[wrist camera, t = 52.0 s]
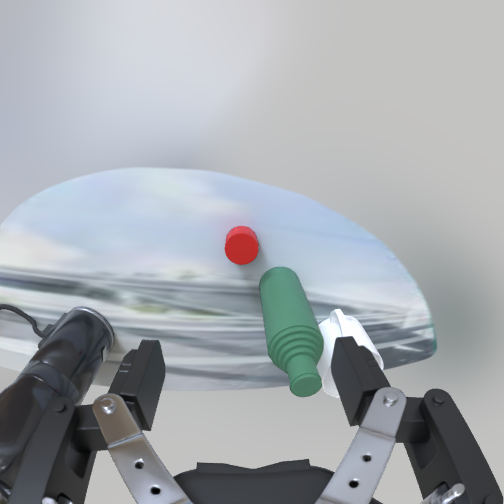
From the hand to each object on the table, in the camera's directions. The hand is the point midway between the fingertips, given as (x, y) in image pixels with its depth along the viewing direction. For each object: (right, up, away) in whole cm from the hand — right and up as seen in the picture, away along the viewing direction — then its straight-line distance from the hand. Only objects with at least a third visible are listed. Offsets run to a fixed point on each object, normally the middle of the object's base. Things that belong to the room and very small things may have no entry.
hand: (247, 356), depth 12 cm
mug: (+13, -8, +31) cm, 35 cm away
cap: (-1, +6, +26) cm, 26 cm away
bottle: (+4, 0, +28) cm, 28 cm away
